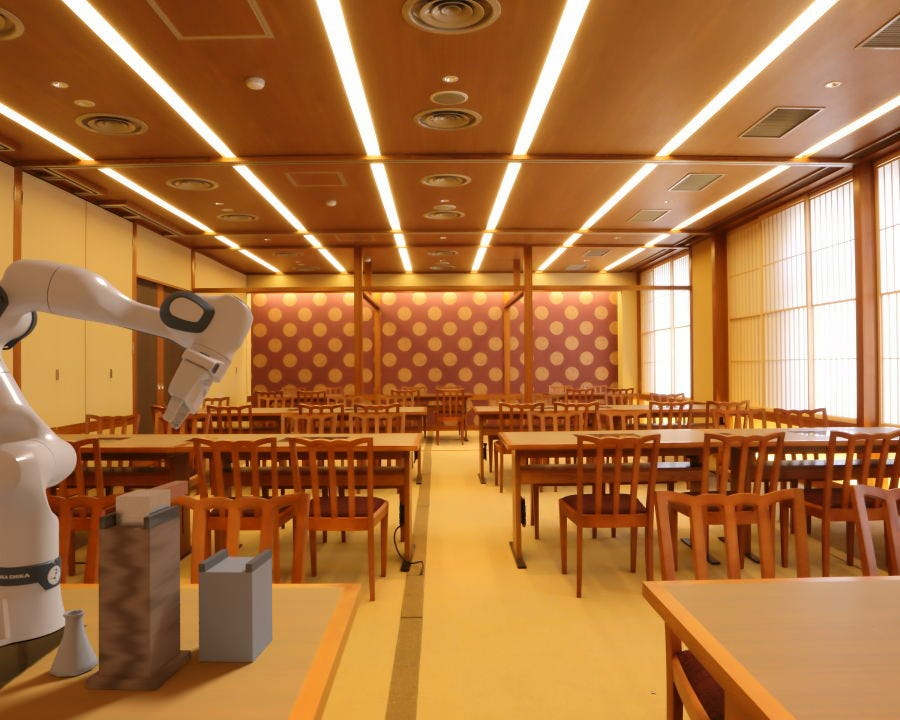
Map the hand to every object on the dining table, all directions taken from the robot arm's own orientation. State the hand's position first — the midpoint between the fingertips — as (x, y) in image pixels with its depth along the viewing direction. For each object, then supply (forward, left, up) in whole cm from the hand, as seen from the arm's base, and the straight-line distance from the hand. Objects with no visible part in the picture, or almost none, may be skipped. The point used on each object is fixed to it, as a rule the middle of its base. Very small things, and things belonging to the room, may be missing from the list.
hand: (169, 424), depth 132 cm
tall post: (+4, -18, -42) cm, 46 cm away
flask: (-9, -17, -42) cm, 46 cm away
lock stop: (+4, -12, -16) cm, 21 cm away
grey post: (+17, -8, -42) cm, 46 cm away
